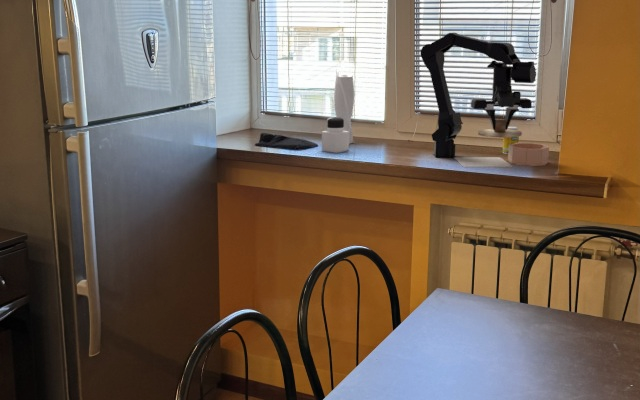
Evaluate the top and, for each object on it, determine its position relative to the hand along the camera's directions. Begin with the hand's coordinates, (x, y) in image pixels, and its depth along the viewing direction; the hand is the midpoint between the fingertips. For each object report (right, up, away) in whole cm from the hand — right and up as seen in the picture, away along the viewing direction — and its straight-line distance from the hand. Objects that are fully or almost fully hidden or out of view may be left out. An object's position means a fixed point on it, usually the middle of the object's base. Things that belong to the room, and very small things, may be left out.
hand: (500, 129), depth 252 cm
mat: (-5, -11, +3) cm, 13 cm away
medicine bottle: (-54, -5, +26) cm, 60 cm away
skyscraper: (-50, -1, +43) cm, 66 cm away
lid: (0, -1, 0) cm, 2 cm away
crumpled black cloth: (-72, -3, +37) cm, 81 cm away
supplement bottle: (+8, -7, +20) cm, 23 cm away
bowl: (+10, -11, +3) cm, 15 cm away
